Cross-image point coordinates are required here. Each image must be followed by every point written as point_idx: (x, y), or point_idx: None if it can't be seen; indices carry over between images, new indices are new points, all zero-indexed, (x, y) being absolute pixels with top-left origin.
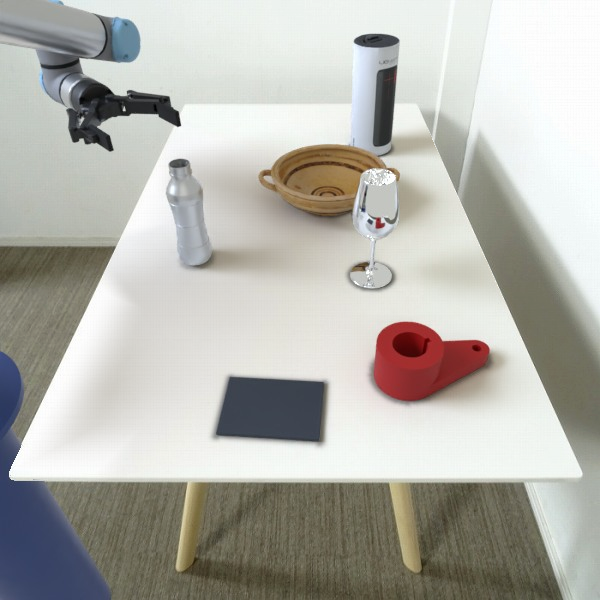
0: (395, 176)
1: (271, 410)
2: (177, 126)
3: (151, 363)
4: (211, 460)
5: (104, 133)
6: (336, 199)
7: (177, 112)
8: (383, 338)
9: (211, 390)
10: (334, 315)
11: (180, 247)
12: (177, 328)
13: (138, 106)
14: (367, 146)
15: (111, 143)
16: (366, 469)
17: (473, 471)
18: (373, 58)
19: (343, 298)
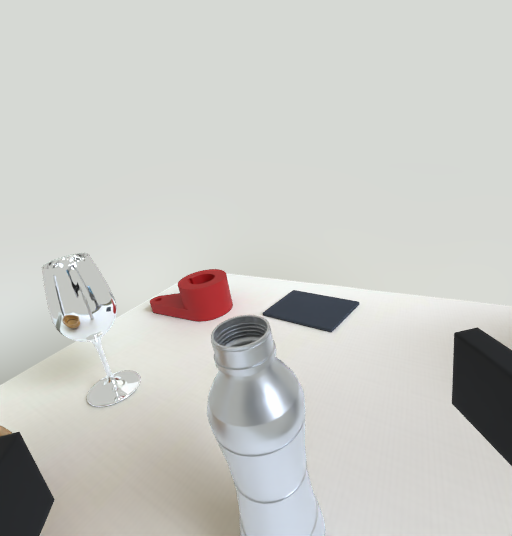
0: (56, 259)
1: (312, 305)
2: (51, 500)
3: (411, 363)
4: (367, 294)
5: (497, 356)
6: (4, 428)
7: (4, 438)
8: (211, 283)
9: (352, 328)
10: (198, 359)
11: (316, 499)
12: (371, 396)
13: None
14: None
15: (455, 369)
16: (279, 281)
17: (233, 275)
18: None
19: (170, 372)
